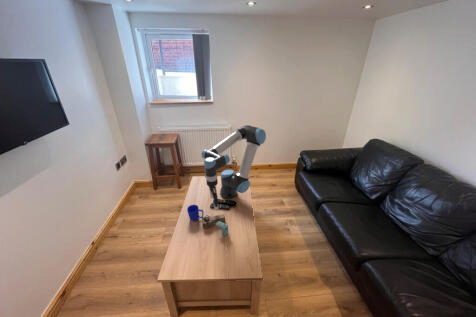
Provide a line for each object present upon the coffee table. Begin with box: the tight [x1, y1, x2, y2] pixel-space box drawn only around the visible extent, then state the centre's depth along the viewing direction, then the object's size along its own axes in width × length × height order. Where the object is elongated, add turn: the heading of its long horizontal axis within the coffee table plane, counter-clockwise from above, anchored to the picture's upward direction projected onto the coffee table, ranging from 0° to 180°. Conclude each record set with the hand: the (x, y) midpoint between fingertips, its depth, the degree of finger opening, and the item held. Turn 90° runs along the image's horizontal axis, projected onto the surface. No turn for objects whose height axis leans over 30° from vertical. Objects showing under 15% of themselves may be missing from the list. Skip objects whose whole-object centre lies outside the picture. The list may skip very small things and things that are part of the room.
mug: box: [186, 204, 204, 222], centre depth 145 cm, size 8×12×10 cm
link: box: [201, 213, 226, 230], centre depth 142 cm, size 16×6×5 cm, turn 107°
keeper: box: [215, 221, 229, 237], centre depth 133 cm, size 4×8×7 cm, turn 57°
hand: (214, 203), depth 141 cm, fingers open, 13 cm apart
